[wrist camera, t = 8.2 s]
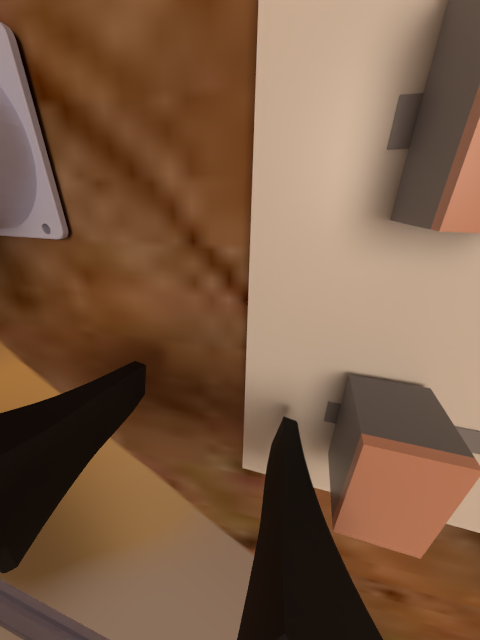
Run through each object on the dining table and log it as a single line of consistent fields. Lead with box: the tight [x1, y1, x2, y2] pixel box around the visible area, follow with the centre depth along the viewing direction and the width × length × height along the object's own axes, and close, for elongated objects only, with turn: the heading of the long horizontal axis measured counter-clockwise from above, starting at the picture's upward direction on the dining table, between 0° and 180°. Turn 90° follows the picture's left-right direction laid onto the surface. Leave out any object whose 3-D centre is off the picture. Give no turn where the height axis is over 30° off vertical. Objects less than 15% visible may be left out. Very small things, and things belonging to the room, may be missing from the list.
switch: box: [328, 375, 480, 559], centre depth 9 cm, size 3×5×3 cm, turn 179°
